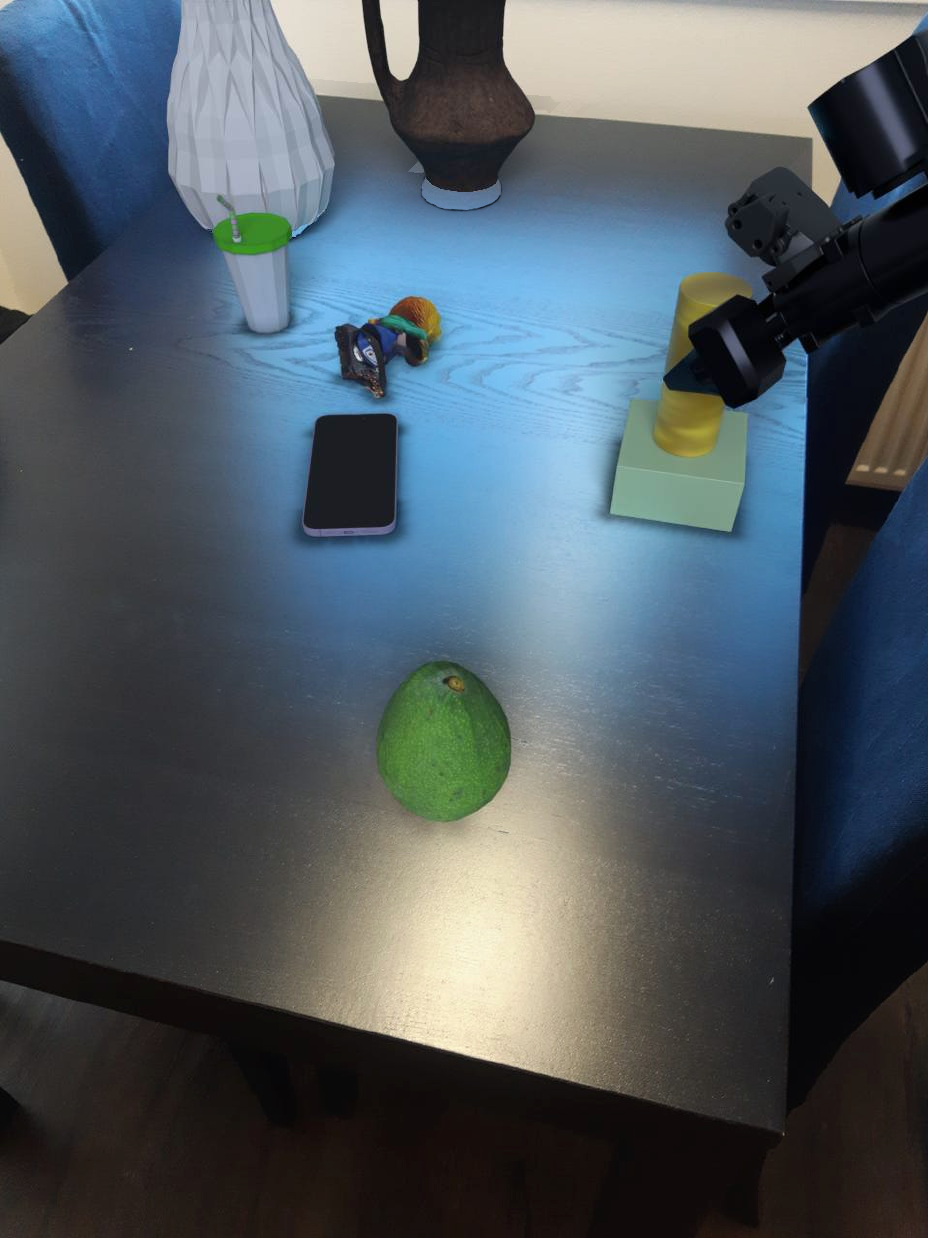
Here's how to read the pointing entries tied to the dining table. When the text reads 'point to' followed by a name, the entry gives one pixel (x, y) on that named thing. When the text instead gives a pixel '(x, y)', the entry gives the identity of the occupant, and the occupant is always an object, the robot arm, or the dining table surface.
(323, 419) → the smartphone
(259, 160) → the vase
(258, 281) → the cup
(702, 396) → the yellow tumbler
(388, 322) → the figurine
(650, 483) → the green block
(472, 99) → the jug
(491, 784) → the fruit
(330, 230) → the dining table surface
